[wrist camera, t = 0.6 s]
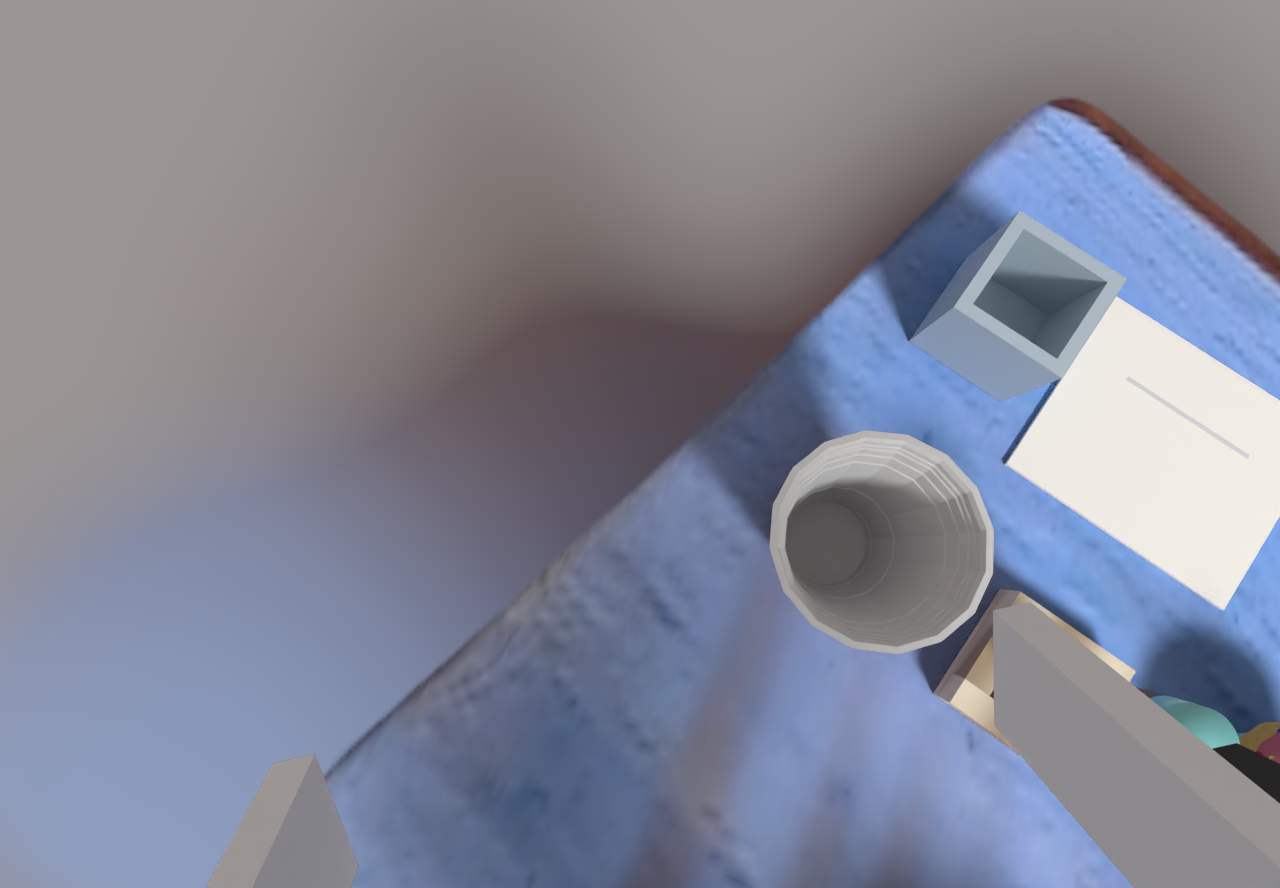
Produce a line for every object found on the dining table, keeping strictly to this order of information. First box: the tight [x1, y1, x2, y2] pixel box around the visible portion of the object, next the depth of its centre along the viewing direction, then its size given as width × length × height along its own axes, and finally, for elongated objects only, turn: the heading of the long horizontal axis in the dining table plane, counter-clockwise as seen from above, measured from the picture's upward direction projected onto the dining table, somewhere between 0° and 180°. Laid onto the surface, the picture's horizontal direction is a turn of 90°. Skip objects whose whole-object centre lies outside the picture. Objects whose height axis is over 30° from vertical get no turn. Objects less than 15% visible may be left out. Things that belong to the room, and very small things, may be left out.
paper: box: [1004, 296, 1280, 610], centre depth 46 cm, size 16×14×1 cm
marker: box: [1136, 687, 1240, 749], centre depth 37 cm, size 3×3×14 cm
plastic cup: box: [769, 430, 994, 654], centre depth 39 cm, size 11×11×12 cm
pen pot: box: [909, 211, 1127, 402], centre depth 44 cm, size 7×7×7 cm
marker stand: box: [933, 589, 1136, 756], centre depth 43 cm, size 8×8×2 cm
